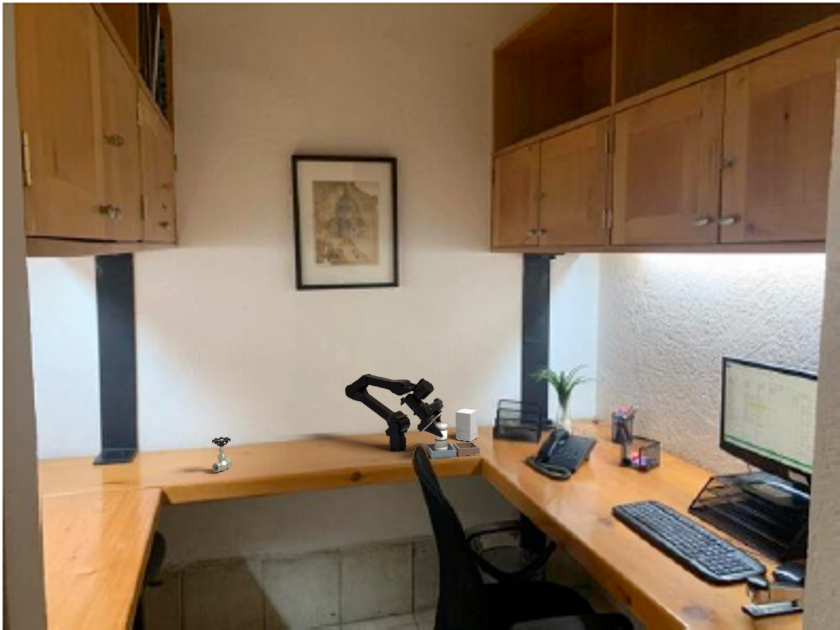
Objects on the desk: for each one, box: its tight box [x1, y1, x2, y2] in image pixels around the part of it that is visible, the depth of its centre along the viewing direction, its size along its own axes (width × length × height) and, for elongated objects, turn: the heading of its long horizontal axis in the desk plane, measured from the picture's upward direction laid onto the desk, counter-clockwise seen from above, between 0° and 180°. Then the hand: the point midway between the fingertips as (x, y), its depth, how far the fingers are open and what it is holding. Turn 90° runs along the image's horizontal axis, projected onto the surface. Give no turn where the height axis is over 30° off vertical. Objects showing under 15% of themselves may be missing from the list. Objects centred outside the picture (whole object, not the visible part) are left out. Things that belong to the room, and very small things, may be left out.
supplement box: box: [455, 408, 479, 442], centre depth 276 cm, size 7×7×13 cm
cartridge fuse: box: [434, 421, 448, 451], centre depth 255 cm, size 5×5×11 cm
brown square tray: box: [452, 441, 481, 457], centre depth 258 cm, size 9×9×3 cm
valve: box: [211, 436, 233, 474], centre depth 237 cm, size 7×7×12 cm
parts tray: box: [425, 442, 457, 460], centre depth 255 cm, size 10×10×3 cm
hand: (444, 435), depth 254 cm, fingers closed on cartridge fuse, 5 cm apart
